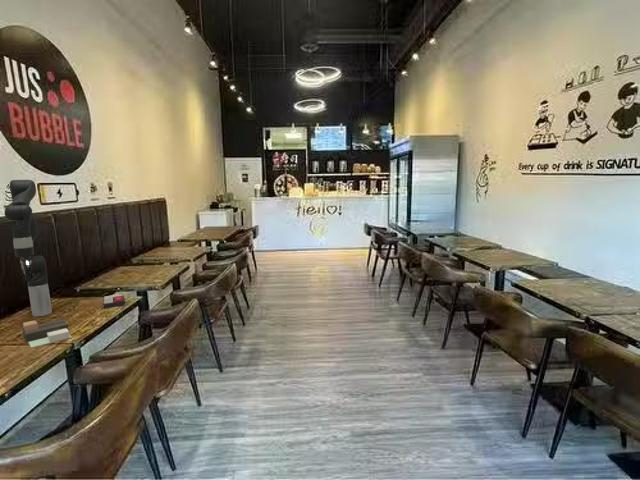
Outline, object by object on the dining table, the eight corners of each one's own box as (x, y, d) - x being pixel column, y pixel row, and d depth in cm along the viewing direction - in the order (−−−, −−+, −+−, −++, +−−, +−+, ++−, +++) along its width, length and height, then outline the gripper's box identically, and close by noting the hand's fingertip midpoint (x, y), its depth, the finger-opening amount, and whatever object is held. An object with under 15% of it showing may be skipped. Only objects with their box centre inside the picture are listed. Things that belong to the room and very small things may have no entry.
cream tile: (49, 336, 185) (50, 342, 185) (69, 331, 190) (70, 337, 191) (46, 332, 189) (47, 339, 190) (66, 328, 195) (67, 334, 195)
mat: (28, 342, 187) (28, 341, 187) (68, 332, 198) (67, 332, 198) (31, 348, 181) (31, 347, 181) (72, 337, 191) (72, 336, 191)
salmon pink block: (23, 328, 194) (22, 322, 194) (36, 326, 198) (35, 320, 197) (25, 332, 190) (24, 326, 189) (38, 329, 193) (37, 323, 193)
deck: (23, 336, 196) (22, 328, 195) (63, 326, 207) (62, 318, 207) (26, 342, 187) (25, 334, 187) (69, 332, 198) (67, 324, 198)
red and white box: (102, 303, 234) (103, 295, 247) (103, 310, 234) (104, 302, 248) (123, 300, 238) (123, 292, 252) (124, 306, 239) (123, 299, 252)
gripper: (35, 247, 194) (40, 281, 197) (30, 243, 203) (35, 277, 206) (16, 249, 189) (21, 285, 192) (12, 245, 198) (17, 279, 201)
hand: (28, 280), depth 199 cm, fingers closed
